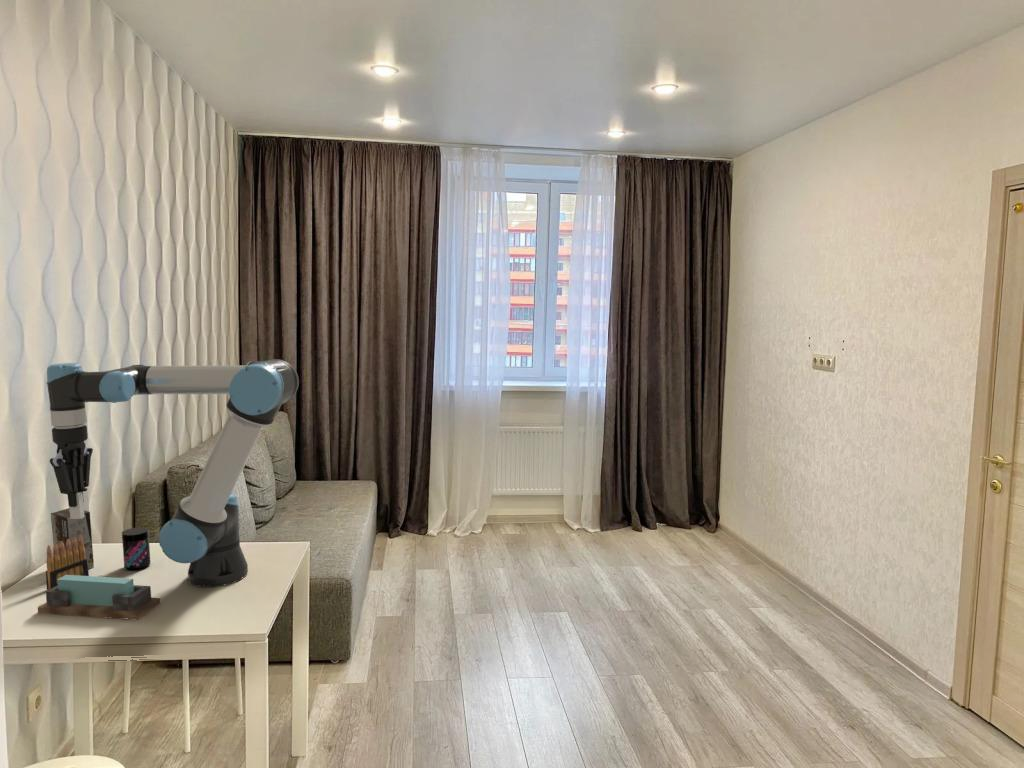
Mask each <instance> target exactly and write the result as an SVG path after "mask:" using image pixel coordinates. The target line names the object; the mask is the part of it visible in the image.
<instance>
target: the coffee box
mask: <svg viewBox="0 0 1024 768" xmlns="http://www.w3.org/2000/svg"><path fill="white" fill-rule="evenodd" d="M50 521H51V522H50V523H51V530H52V531H51V532H52V542H53V545H54V543H56V544H57V547H58V551H59V556H60V542H61V541H62V542H63V544H64V547H65V553H66V541H67V539H69V541H70V544H71V550H72V540H73V537H75V538H76V541H77V546H78V540H79V535H81V536H82V538H83V543H84V548H85V556H86V559H87V564H88V570H89V569H94V568H95V563H94V550H93V549H94V548H93V538H92V537H93V536H92V524H91V523H92V522H91V512H90V511H87V510H84V518H82V519H70V508H69V507H68V508H64V509H62V510H58V511H55V512H51V513H50Z"/></svg>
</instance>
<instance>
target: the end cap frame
mask: <svg viewBox="0 0 1024 768" xmlns="http://www.w3.org/2000/svg"><path fill="white" fill-rule="evenodd" d="M151 589H152V588H151V585H136V584H134V593H133V594H131V595H120V594H114V595H113V596H112V601H113V607H112V606H97V605H82V604H70V592H69V591H58V585H57V586H55V587H54V588H52V589H50V590H46V591H45V597H46V598H45V599H46V601H45V603H43V604H41V605H39V606H37V613H38V614H46V615H60V616H61V615H62V616H74V617H75V616H76V617H90V618H102V617H103V619H105V618H106V617H107V618H106V619H117V618H128V619H127V620H131V619H138V620H139V619H141V618H142V617H144V616H145V615H147V614H148V613H149V612H151V611H152V610H154V609H155V608H156V607H158V606H159V605H160V604H161V598H160V597H153V596H152V590H151ZM143 615H144V616H143ZM104 617H105V618H104ZM110 617H111V618H110ZM140 617H141V618H140Z"/></svg>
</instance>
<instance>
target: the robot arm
mask: <svg viewBox="0 0 1024 768" xmlns="http://www.w3.org/2000/svg"><path fill="white" fill-rule="evenodd" d="M82 366H83V365H81V363H79V362H78V363H77V362H66V363H65V362H63V363H62V362H61V363H54V364H53V363H52V364H50V365H48V366H47V368H46V385H47V392H48V398H49V399H48V400H49V411H50V413H49V414H50V422H51V426H52V429H51V435H52V436H51V439H52V443H54V444H56V446H57V447H56V456H55V457H54V458H50V459H49V463H50V464H51V466H52V468H53V471H54V475H55V479H56V482H57V485H58V488H59V489H58V490H59V493H60V494H63V495H67V503H68V508H70V519H82V518H84V511H85V509H84V507H85V506H84V501H85V500H84V492H87V491H88V488H87V487H89V485H90V472H91V458H92V455H93V450H94V449H93V448H92V447H87V446H86V443H85V441H87V440H88V439H89V437H88V426H87V425H86V423H87V422H88V421H87V419H88V418H87V412H86V403H112V404H113V403H114V404H116V403H125V402H126V403H127V402H128V401H130V400H131V399H132V397H133V396H137V395H138V396H139V395H142V396H143V395H147V396H149V395H229V399H228V401H227V403H226V405H225V407H226V409H227V412H228V416H227V418H226V420H225V422H224V424H223V427H222V428H221V430H220V433H219V435H218V437H217V439H216V442H215V443H214V444H213V448H212V450H211V452H210V453H209V456H208V458H207V459H206V462H205V464H204V465H203V468H202V471H201V473H200V475H199V477H198V479H197V481H196V483H195V485H194V487H193V489H192V491H191V493H190V495H188V496H186V497H183V498H182V499H181V500H180V502H179V504H178V507H177V508H176V510H175V513H174V514H173V516H172V518H171V519H169V520H168V521H166V523H164V525H163V526H162V527H161V529H160V531H159V535H158V543H159V546H160V547H161V550H162V552H163V554H164V555H165V556H166V557H167V558H168V559H170V561H171V560H172V561H173V562H175V563H178V564H189V566H188V570H187V579H188V583H190V584H191V585H193V586H196V587H205V588H206V587H220V586H224V584H226V585H230V584H232V582H233V583H235V582H234V581H236V582H238V581H240V580H242V579H243V578H242V577H244V576H245V575H246V574H247V572H248V573H249V568H248V567H249V565H248V562H247V559H246V558H245V555H244V552H243V549H242V547H241V543H240V542H241V541H240V540H241V539H240V522H239V521H240V518H239V503H238V502H239V501H238V496H237V495H236V494H235V493H233V491H234V489H235V487H236V485H237V483H238V481H239V478H240V476H241V474H242V472H243V470H244V468H245V466H246V464H247V462H248V460H249V458H250V455H251V454H252V452H253V449H254V447H255V445H256V443H257V442H258V440H259V437H260V435H261V433H262V431H263V429H264V428H266V427H269V426H271V425H272V424H273V422H274V421H275V419H276V416H277V414H278V413H279V410H280V409H281V406H282V405H283V404H285V403H287V402H289V401H290V400H291V399H292V398H294V396H295V395H296V394H297V391H298V388H299V386H300V385H299V384H300V380H299V375H298V373H297V371H296V369H295V368H294V366H292V365H291V364H290V363H289V362H287V361H285V360H283V359H279V358H278V359H276V358H273V359H267V360H261V361H260V360H258V361H257V360H256V361H254V360H253V361H248V362H247V363H246V365H240V364H239V365H235V364H234V365H146V364H132V365H130V366H127V367H122V368H121V367H120V368H115V369H111V370H106V371H84V370H83V367H82ZM247 575H248V574H247ZM247 575H246V576H247ZM246 576H245V577H246ZM245 577H244V578H245ZM241 578H242V579H241ZM239 579H240V580H239ZM237 580H238V581H237ZM229 583H230V584H229Z"/></svg>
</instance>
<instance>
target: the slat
mask: <svg viewBox="0 0 1024 768" xmlns="http://www.w3.org/2000/svg"><path fill="white" fill-rule="evenodd" d="M57 583H58V591H69V592H70V604H82V605H97V606H112V607H113V601H112V596H113V595H114V594H120V595H131V594H133V593H134V585H135V584H134V578H128V577H127V578H126V577H112V576H111V577H107V576H94V575H93V576H92V575H89V576H79V575H65V576H63V577H61V578H59V579H57Z"/></svg>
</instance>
